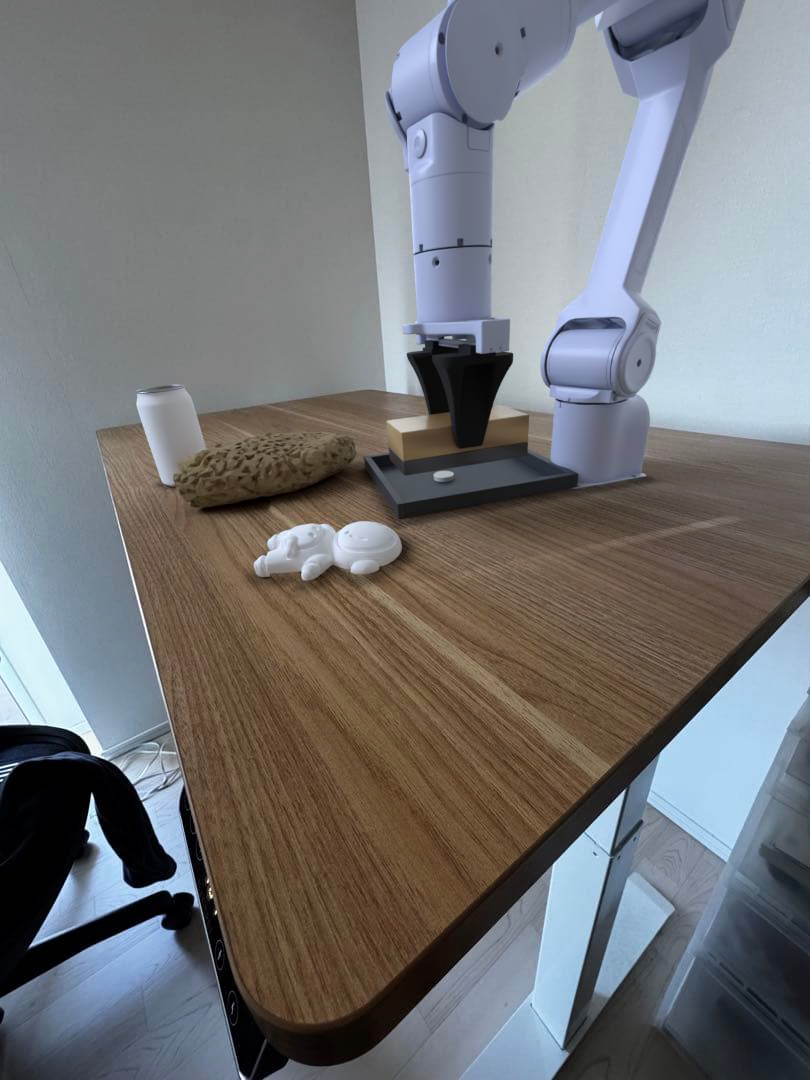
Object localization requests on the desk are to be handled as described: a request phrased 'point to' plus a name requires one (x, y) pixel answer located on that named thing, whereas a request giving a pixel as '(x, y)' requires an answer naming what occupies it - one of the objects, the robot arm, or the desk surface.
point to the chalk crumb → (443, 476)
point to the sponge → (261, 467)
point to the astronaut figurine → (329, 549)
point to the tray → (467, 483)
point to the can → (169, 427)
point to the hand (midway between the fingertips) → (456, 438)
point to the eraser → (434, 447)
